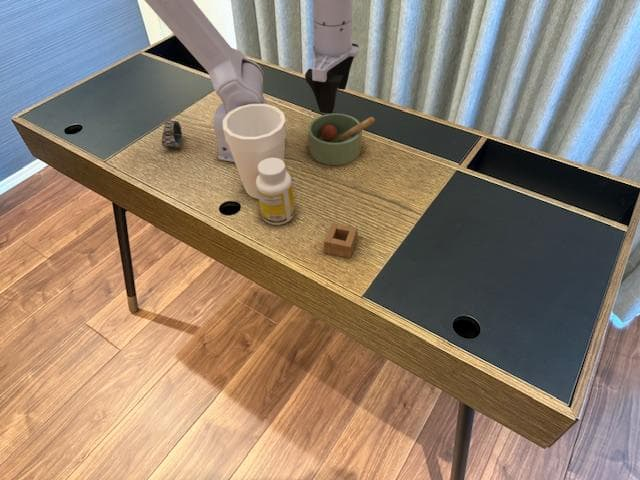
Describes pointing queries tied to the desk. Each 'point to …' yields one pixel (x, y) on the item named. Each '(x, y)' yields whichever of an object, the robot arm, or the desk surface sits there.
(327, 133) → the bead
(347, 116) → the bowl
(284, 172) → the supplement bottle
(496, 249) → the desk surface
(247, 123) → the foam cup
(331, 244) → the stand
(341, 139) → the stick
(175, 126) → the wristwatch
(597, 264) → the desk surface
